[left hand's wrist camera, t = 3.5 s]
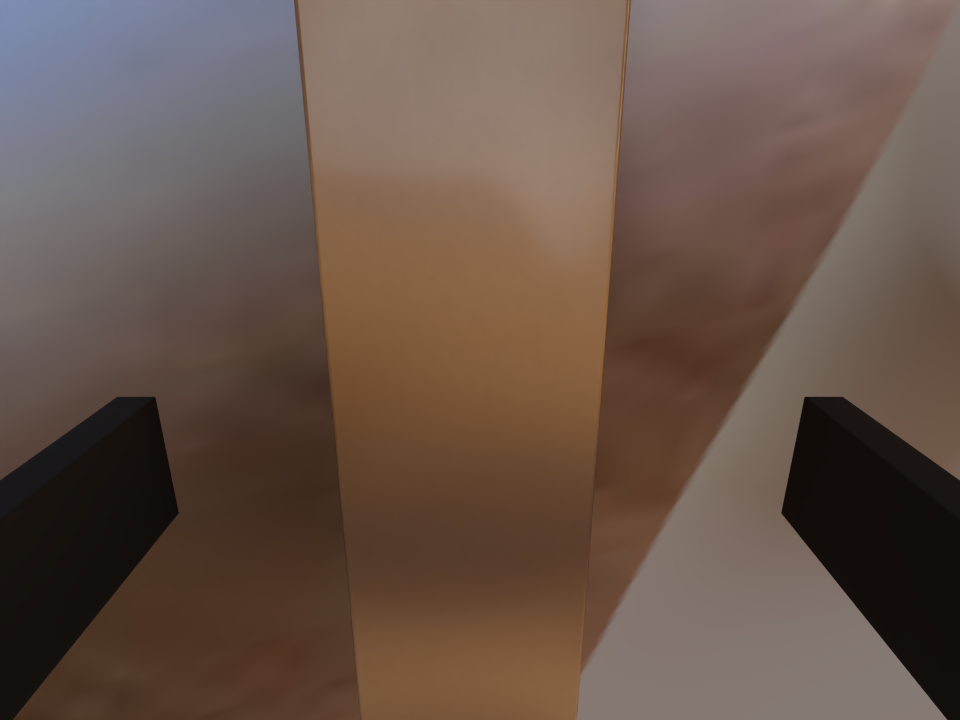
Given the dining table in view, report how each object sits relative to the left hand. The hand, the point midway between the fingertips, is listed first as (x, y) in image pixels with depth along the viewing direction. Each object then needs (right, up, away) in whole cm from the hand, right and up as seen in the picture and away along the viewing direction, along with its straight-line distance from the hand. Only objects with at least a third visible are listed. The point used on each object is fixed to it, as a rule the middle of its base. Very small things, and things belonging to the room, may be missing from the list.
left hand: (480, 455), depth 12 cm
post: (0, +26, -2) cm, 26 cm away
